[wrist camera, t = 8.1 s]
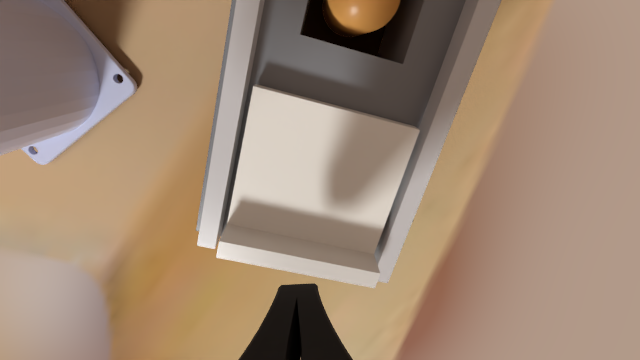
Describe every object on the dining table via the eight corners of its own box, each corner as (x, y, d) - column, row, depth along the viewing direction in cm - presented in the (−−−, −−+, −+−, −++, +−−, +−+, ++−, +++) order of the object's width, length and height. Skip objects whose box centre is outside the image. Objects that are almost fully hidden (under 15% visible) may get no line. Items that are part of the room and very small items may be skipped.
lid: (365, 258, 17) (374, 288, 15) (227, 230, 16) (216, 257, 14) (414, 125, 15) (432, 138, 13) (256, 84, 14) (247, 90, 12)
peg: (311, -1, 18) (314, -18, 14) (357, -37, 18) (377, -69, 13) (342, 48, 19) (354, 47, 15) (387, 15, 19) (415, 2, 14)
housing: (369, 218, 23) (395, 284, 17) (222, 186, 22) (188, 243, 15) (462, -46, 18) (554, -103, 11) (275, -110, 16) (256, -216, 10)
